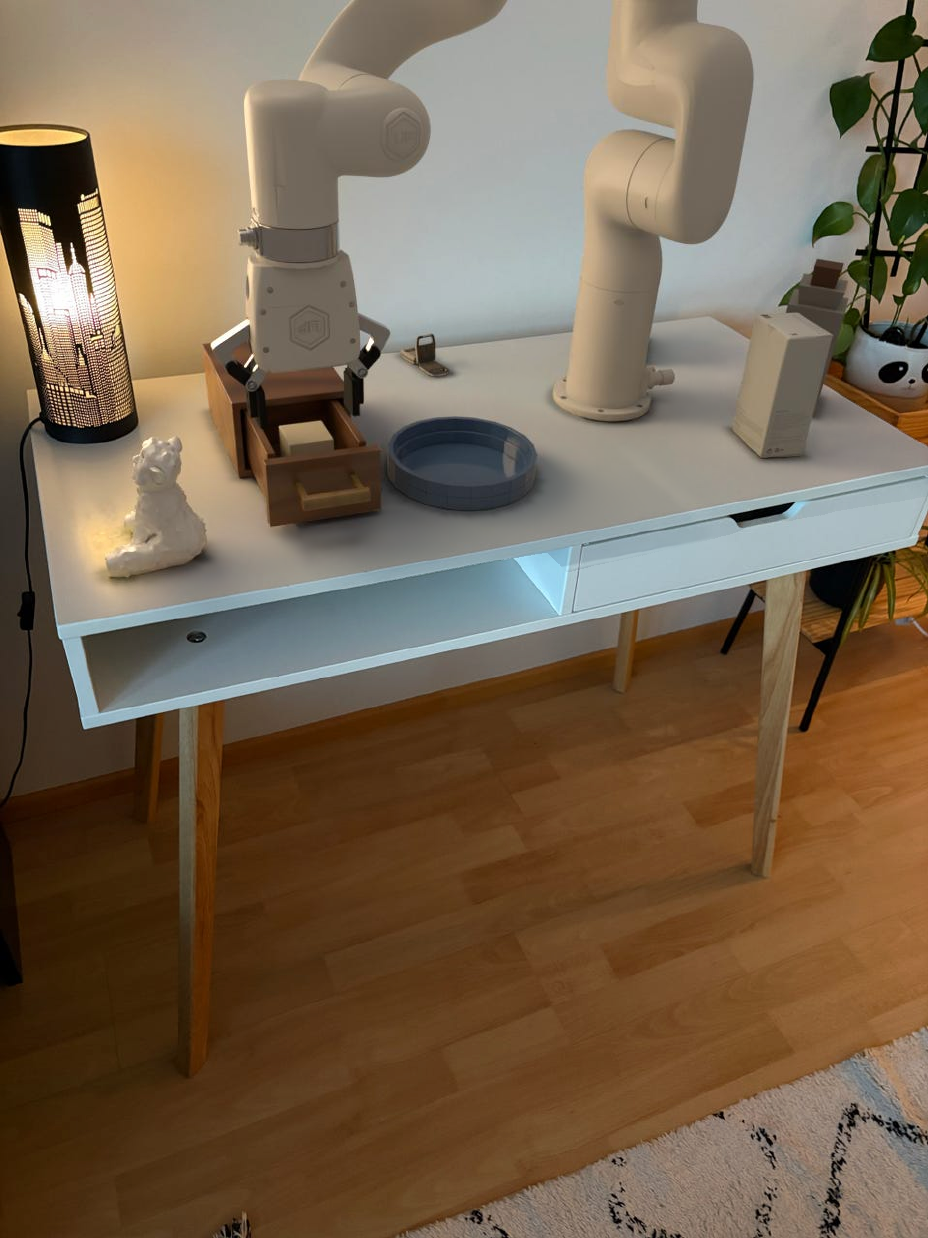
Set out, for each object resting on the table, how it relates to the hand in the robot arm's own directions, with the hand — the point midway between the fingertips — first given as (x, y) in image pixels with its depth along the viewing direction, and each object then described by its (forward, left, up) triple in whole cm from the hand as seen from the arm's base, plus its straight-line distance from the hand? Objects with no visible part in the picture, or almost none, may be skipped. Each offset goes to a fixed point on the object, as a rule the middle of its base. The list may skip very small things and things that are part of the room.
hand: (307, 416), depth 96 cm
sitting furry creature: (+16, +7, -9) cm, 20 cm away
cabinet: (0, -13, -9) cm, 16 cm away
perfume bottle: (-67, -5, -9) cm, 68 cm away
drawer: (0, +1, -8) cm, 8 cm away
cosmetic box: (-56, +4, -9) cm, 57 cm away
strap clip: (-24, -29, -9) cm, 38 cm away
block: (0, 0, -7) cm, 7 cm away
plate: (-17, +1, -9) cm, 19 cm away
